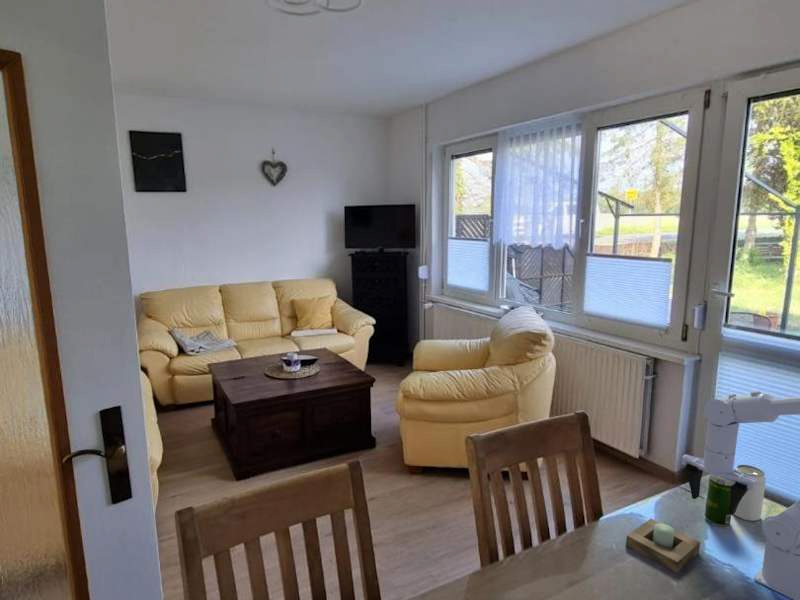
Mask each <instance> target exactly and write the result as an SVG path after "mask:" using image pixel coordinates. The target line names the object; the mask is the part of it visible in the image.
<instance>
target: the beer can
mask: <svg viewBox="0 0 800 600" xmlns="http://www.w3.org/2000/svg"><path fill="white" fill-rule="evenodd" d="M708 478H709V479H708V485H707V493H706V501H705V508H704V509H705V510H704V517H705V520H706V521H707V522H708V523H709V522H710V524H711V525H712V526H713V525H714V526H716V527H721V528H725V527H728V526H729V525H730V524H731V520H732V519H731V518H732V515H731V514H729V506H730V487H731V486H732V485H733V484H735V482H732V481H729V480H727V479H724V478H721V477H718V476H715V475H712V474H709V477H708Z"/></svg>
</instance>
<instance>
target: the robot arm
mask: <svg viewBox="0 0 800 600" xmlns="http://www.w3.org/2000/svg"><path fill="white" fill-rule="evenodd" d="M703 413H704V415H705V418H706V419H707V426H706V427H707V428H706V435H705V436H706V437H705V444H704V445H705V446H704V455H703V458H701V457H697V456H692V455H690V454H684V455H682V456H681V463H680V464H681V465H683V466H685V467H684V469H683V473H684V475H685V476H686V480H687V481H688V484H689V489H690V492H691V499H693V500H696V499H698V498H699V496H700V491H701V481H702V477H703V473H705V472H706V473H707V474H709V475H711V474H712V475H715V476H718V477H721V478H724V479H727V480H729V481H732V482H735V484H733V485H732V486H731V487H730V506H729V514H731V516H733V515H734V513H735V512H736V509H737V506H738V504H739V502H740V500H741V499H742V497H743V496H744V495H745V493H746V492H747V491H748V490H749V489H750V490H754V489H755V488H756V481H757V480H756V479H754V478H751V477H749V476H747V475H745V474H743V473H741V472H739V471H737V470H736V469H735V468H734V466H735V456H736V449H737V444H738V434H739V428H740V424H752V423H753V424H754V423H773V422H775V421H776V420H778V418H779V417H780V416H785V415H787V416H789V415H790V416H792V415H794V416H795V415H796V416H797V415H798V416H799V415H800V396H795V397H783V398H775V397H774V396H772V395H770V394H769V393H761V391H759V390H757V391H752V392H751V391H750V393H749V394H747V395H746V394H745V395H737V394H733V393H732V394H728V395H726V396H722V397H719V398H712V399H711V400H708V401H707V402H706V403H705V404H704V407H703ZM761 531H762V534H763V535H764V537H765V539H766V540H765V547H764V555H763V561H762V567H761V569H760V570H759V571H758V572H757V573H756V574H755V576H754V577H753V580H754V581H755V582H757V583H759V584H762V585H763V586H766V587H767V588H769V589H772V590H774V591H776V592H777V593H780V594H782V595H783V596H786V597H787V598H789V599H792V600H800V499H799V500H797V502H795V503H793V504H792V505H790V506H789V507H787V508H786V509H784V510H782V511H781V512H779V513H776V514H774V515H769V516H766V517H765V518H764V519H763V521H762V522H761Z"/></svg>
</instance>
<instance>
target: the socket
mask: <svg viewBox="0 0 800 600" xmlns="http://www.w3.org/2000/svg"><path fill="white" fill-rule="evenodd" d="M658 523H660V522H659V521H657V520H655V519H652V518H649V519H647V520H646V521H645V522H643V523H642V524H641V525H640V526H638V527H636V528H635V529H634V530H632V531H631V532H629V533H628V534H627V535H626V542H625V546H627V547H628V548H629V549H632V550H634V551H635V552H638V553H639V554H641V555H643V556H645V557H646V558H648V559H650V560H652V561H654V562H656V563H657V562H658V563H657V564H659V563H660V564H659V565H661V564H662V565H661V566H663V565H664V566H663V567H665V566H666V567H665V568H667V567H668V568H670V569H672V570H673V571H672V570H671V571H672V572H674V571H675V573H676V572H677V571H678V570H679V571H680V570H681V569H682V568H683V567H685V566H686V565H687V564H688V563H689V562H690V561H691V560H692V559H693V558H695V557H696V556H697V555H698V554H699V553H700V547H701V541H699V540H697V539H695V538H692V537H690V536H689V535H686V534H684V533H682V532H680V531H678V530H676V529H674V541H673V549H672V550H671V551H670V550H668V549H666V548H664V547H662V546H660V545H658V544H656V543H654V542H653V534H654V525H655V524H658ZM650 540H651V541H650ZM674 546H675V547H674ZM668 568H667V569H668ZM670 569H669V570H670ZM679 571H678V572H679ZM678 572H677V573H678Z"/></svg>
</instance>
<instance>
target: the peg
mask: <svg viewBox="0 0 800 600" xmlns="http://www.w3.org/2000/svg"><path fill="white" fill-rule="evenodd" d="M674 530H675V529H674V528H673V527H671V526H670V525H668V524H666V523H662V522H659V523H658V524H655V525H654V534H653V539H652V542H654V543H656V544H658V545H660V546H662V547H664V548H666V549H668V550H670V551H671V550H673V549H674V546H673V541H674Z"/></svg>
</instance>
